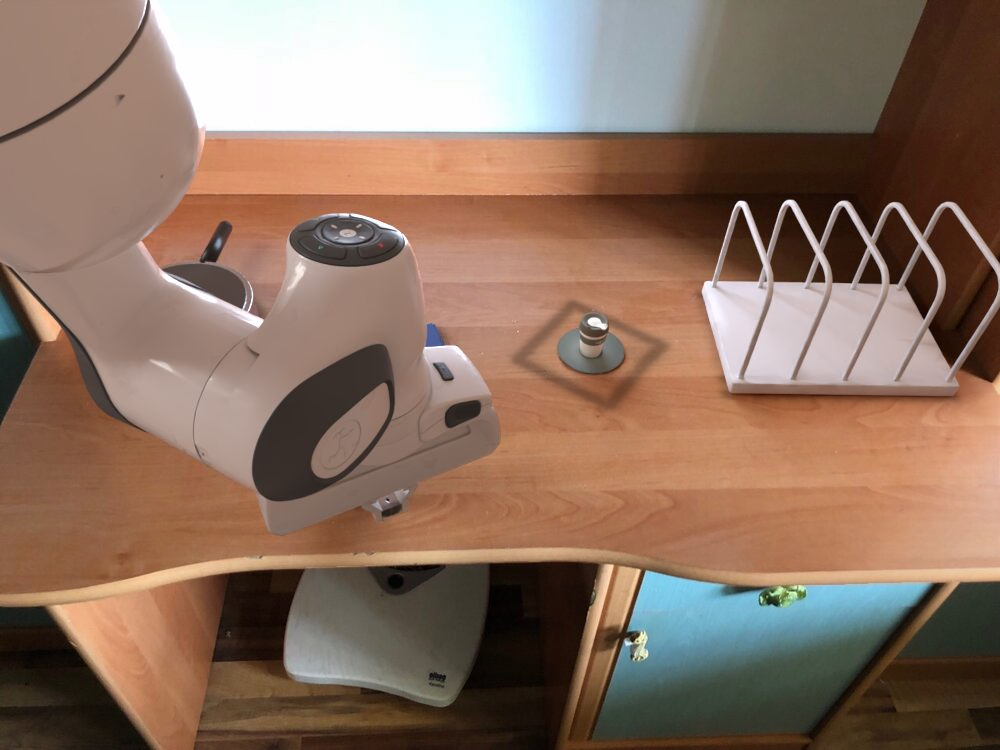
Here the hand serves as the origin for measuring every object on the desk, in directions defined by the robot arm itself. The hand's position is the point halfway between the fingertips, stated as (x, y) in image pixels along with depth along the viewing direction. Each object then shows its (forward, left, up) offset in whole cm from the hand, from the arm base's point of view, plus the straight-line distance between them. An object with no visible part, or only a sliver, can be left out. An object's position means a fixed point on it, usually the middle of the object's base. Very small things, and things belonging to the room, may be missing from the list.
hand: (389, 511), depth 70 cm
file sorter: (+31, -45, -6) cm, 55 cm away
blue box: (+23, +1, -5) cm, 24 cm away
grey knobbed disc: (+27, -19, -6) cm, 33 cm away
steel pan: (+32, +28, -5) cm, 43 cm away
